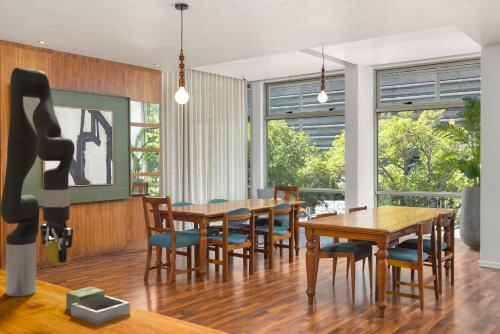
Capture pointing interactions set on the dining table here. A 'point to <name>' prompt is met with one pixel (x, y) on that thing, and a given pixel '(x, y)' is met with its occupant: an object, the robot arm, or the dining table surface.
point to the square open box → (95, 305)
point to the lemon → (53, 252)
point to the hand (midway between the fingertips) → (56, 260)
